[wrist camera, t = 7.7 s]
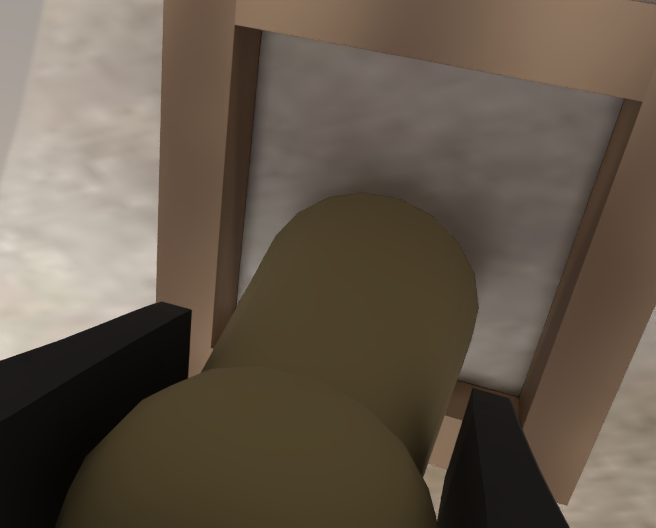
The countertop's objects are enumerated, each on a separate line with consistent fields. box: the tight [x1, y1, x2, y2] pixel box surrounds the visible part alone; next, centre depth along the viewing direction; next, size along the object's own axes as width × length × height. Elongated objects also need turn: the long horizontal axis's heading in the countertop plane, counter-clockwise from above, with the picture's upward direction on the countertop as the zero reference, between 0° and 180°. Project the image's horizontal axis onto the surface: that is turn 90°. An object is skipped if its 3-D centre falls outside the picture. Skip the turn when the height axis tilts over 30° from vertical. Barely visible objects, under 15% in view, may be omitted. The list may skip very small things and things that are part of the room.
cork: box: [55, 193, 479, 528], centre depth 12 cm, size 6×6×11 cm
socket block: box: [156, 0, 656, 505], centre depth 18 cm, size 14×14×2 cm
